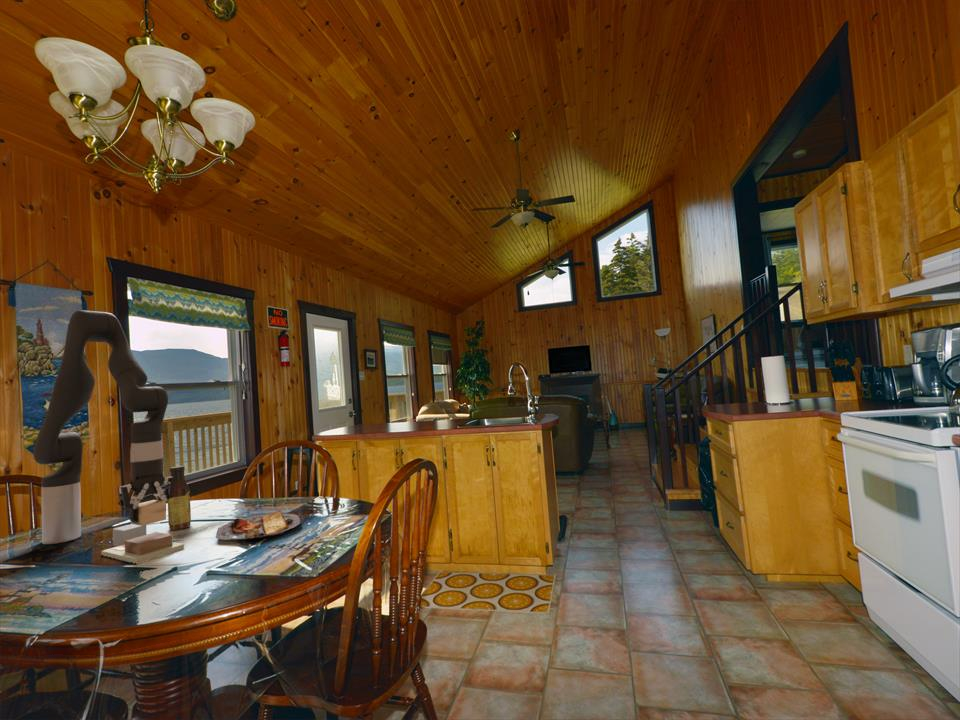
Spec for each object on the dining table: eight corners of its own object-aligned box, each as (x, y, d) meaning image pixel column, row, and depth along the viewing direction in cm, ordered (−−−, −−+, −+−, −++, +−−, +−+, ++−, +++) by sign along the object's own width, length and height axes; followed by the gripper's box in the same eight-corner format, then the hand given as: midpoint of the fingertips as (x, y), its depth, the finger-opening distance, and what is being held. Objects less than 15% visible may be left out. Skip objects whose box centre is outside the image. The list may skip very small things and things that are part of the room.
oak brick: (130, 523, 130) (130, 505, 130) (154, 517, 135) (153, 499, 136) (142, 525, 127) (142, 506, 128) (166, 519, 133) (165, 501, 133)
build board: (101, 555, 131) (101, 550, 131) (148, 541, 142) (148, 536, 142) (136, 563, 123) (136, 558, 123) (184, 548, 134) (183, 543, 134)
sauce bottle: (194, 526, 156) (193, 465, 157) (174, 531, 150) (172, 468, 151) (184, 524, 159) (183, 464, 160) (164, 529, 154) (162, 467, 155)
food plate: (220, 526, 154) (219, 515, 154) (296, 515, 163) (296, 505, 163) (213, 552, 131) (213, 539, 131) (303, 537, 141) (302, 525, 141)
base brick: (124, 551, 129) (124, 540, 130) (156, 542, 136) (156, 531, 137) (141, 555, 126) (140, 544, 126) (172, 545, 133) (172, 534, 133)
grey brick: (112, 546, 140) (112, 528, 140) (135, 539, 145) (134, 522, 145) (124, 548, 137) (123, 530, 137) (146, 541, 142) (146, 524, 143)
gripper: (166, 453, 140) (167, 511, 140) (110, 462, 128) (111, 525, 127) (181, 454, 137) (182, 513, 136) (125, 463, 124) (126, 528, 123)
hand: (148, 518), depth 131 cm, fingers closed on oak brick, 6 cm apart
